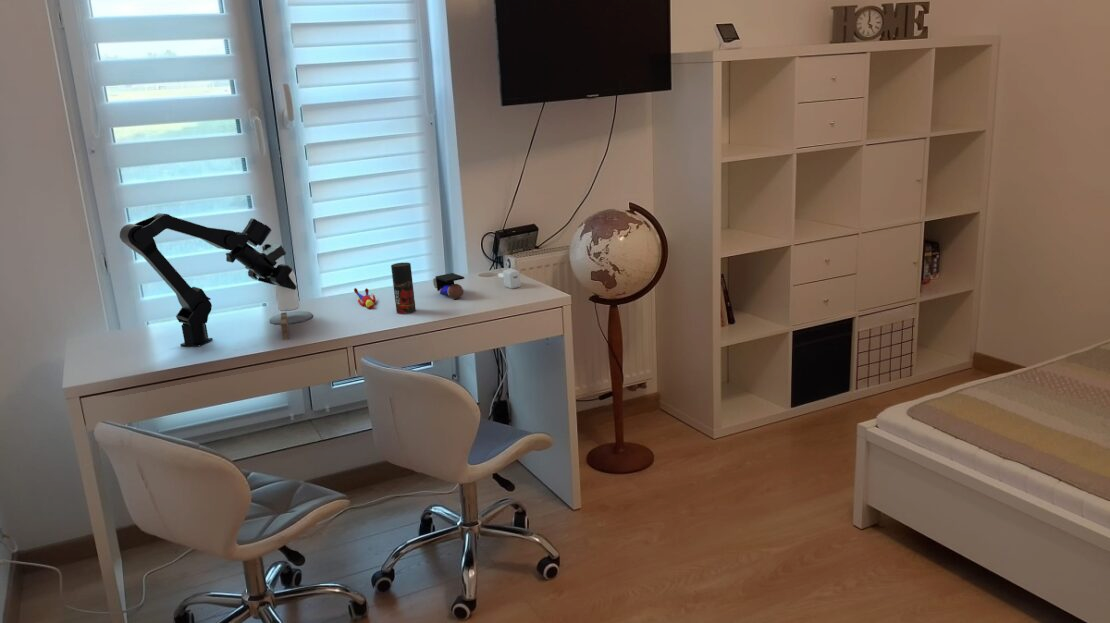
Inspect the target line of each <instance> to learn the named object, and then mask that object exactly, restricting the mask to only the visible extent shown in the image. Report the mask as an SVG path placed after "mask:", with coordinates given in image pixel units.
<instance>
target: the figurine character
mask: <svg viewBox="0 0 1110 623" xmlns="http://www.w3.org/2000/svg"><path fill="white" fill-rule="evenodd" d="M464 279H465V276H462V275H459V274H457V273H454V272H449V273H445V274H440V275H436V276H435V278H433V279H432V282H433V286H434V288H435V289H436V290H437V291H438V292H439V294H441V295H448V297H449V298H451V299H453V300H458V299H460V298H462V297H463V295H464V288H463V287H462V286H461V285H460V284H458V283H455V282H456V281H460V280H461V281H462V280H464Z"/></svg>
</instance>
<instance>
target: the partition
mask: <svg viewBox="0 0 1110 623" xmlns="http://www.w3.org/2000/svg"><path fill="white" fill-rule="evenodd" d="M287 313H288V312H287V311H284V312H281V313H280V314H281V325H280V326H281V327H280V328H281V333H282V340H288V339H289V337H290V336H289V334H290V333H289V332H290V331H289V324H288V320H287Z"/></svg>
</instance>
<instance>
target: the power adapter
mask: <svg viewBox="0 0 1110 623" xmlns="http://www.w3.org/2000/svg"><path fill="white" fill-rule="evenodd" d="M520 275H521V274H520V271H519V270H516V269H515V268H509V269H504V270H503V271H502V272H499V273H496V275H495V276H497V277H498V278H499V279H501V280H503V286H504V287H506V288H508V289H511V290H513V289H516V288H520V287H521V276H520Z"/></svg>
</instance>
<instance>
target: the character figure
mask: <svg viewBox="0 0 1110 623" xmlns="http://www.w3.org/2000/svg"><path fill="white" fill-rule="evenodd" d="M353 292H354V293H355V294H356V296H358V297H357V302H358V304H359V306H362V307H365V308H367V309H368V310H371V309H372V310H373V309H374V307H375V304H376V302H377V299H376V295H375V294H374V293H371V296H372V297H371V296H370V295H369V289H368V288H367V287H366V288H365V289H364V292H365V295H363V294H361V293H360V292H359V290H358V289H357V288H356V287H354V288H353ZM361 301H362V302H361Z"/></svg>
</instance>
